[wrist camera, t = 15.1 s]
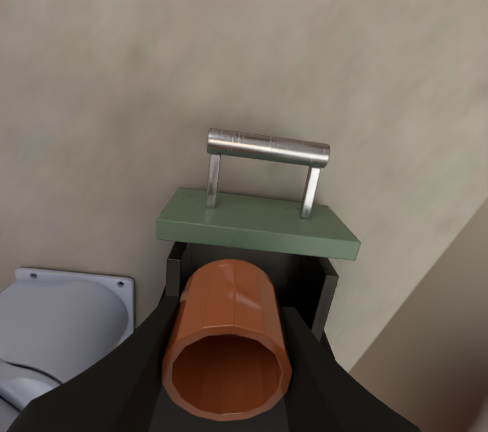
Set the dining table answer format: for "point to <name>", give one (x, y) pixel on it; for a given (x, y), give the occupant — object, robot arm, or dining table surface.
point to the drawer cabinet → (198, 428)
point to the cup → (227, 344)
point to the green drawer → (261, 227)
